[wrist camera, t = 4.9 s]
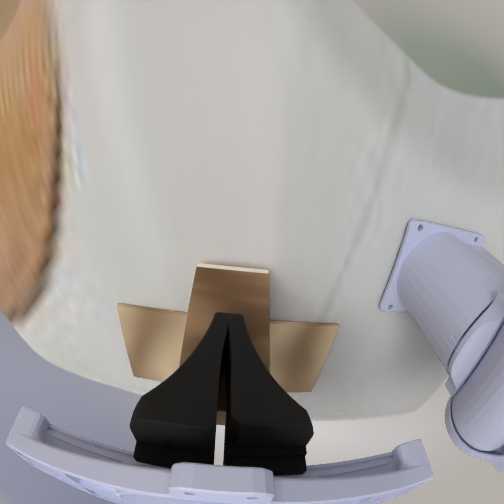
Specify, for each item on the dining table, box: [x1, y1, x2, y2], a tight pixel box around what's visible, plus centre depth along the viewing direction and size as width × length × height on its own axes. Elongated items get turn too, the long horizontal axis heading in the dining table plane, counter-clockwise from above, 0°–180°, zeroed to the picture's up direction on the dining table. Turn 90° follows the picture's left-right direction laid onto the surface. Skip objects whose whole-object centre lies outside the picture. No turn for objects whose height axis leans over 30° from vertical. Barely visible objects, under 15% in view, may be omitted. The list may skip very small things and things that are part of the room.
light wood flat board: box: [117, 303, 339, 392], centre depth 23 cm, size 18×9×1 cm, turn 83°
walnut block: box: [179, 263, 270, 425], centre depth 16 cm, size 4×4×9 cm
